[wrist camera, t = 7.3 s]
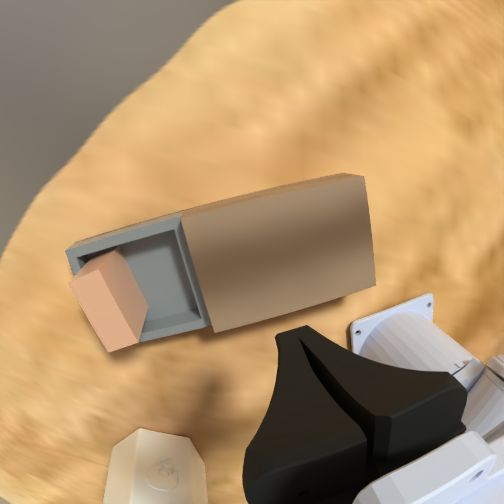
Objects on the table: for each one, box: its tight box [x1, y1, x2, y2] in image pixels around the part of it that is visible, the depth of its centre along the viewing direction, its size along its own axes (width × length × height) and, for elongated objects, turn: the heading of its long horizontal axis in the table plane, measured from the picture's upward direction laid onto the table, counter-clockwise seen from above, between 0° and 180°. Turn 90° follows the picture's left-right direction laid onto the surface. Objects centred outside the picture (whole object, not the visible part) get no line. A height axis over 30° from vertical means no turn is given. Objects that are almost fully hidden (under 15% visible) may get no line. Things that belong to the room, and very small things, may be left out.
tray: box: [65, 211, 212, 343], centre depth 19 cm, size 7×8×2 cm
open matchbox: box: [181, 173, 376, 333], centre depth 20 cm, size 7×10×3 cm, turn 102°
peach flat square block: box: [68, 245, 149, 353], centre depth 18 cm, size 4×4×2 cm
